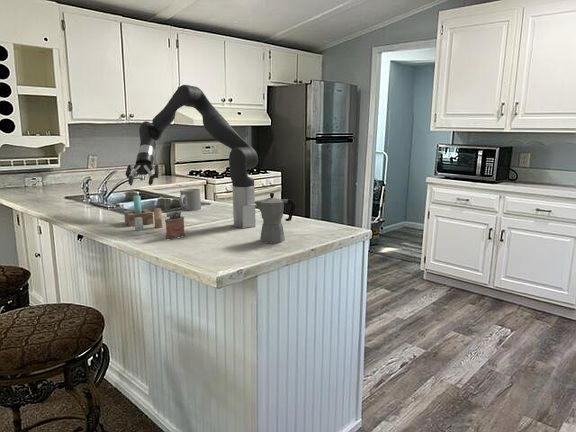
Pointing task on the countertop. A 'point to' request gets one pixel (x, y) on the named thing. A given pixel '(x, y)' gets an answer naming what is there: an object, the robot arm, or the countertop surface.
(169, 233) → the lighter
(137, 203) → the teal pin
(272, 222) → the coffeepot
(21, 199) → the countertop surface
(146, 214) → the walnut block
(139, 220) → the grey pin
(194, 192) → the coffee mug
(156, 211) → the beech pin
